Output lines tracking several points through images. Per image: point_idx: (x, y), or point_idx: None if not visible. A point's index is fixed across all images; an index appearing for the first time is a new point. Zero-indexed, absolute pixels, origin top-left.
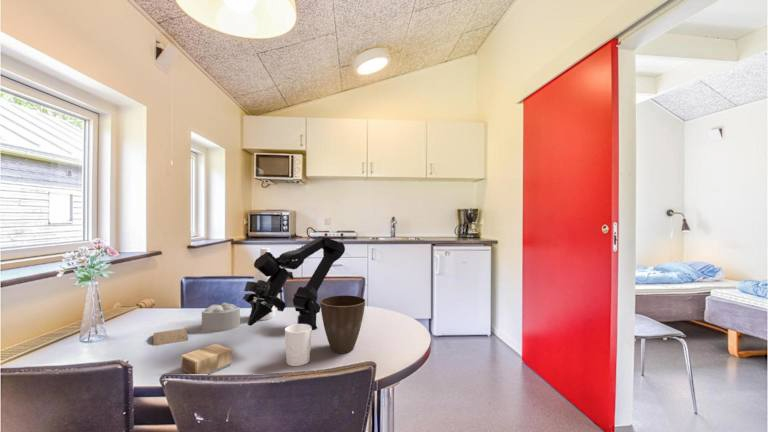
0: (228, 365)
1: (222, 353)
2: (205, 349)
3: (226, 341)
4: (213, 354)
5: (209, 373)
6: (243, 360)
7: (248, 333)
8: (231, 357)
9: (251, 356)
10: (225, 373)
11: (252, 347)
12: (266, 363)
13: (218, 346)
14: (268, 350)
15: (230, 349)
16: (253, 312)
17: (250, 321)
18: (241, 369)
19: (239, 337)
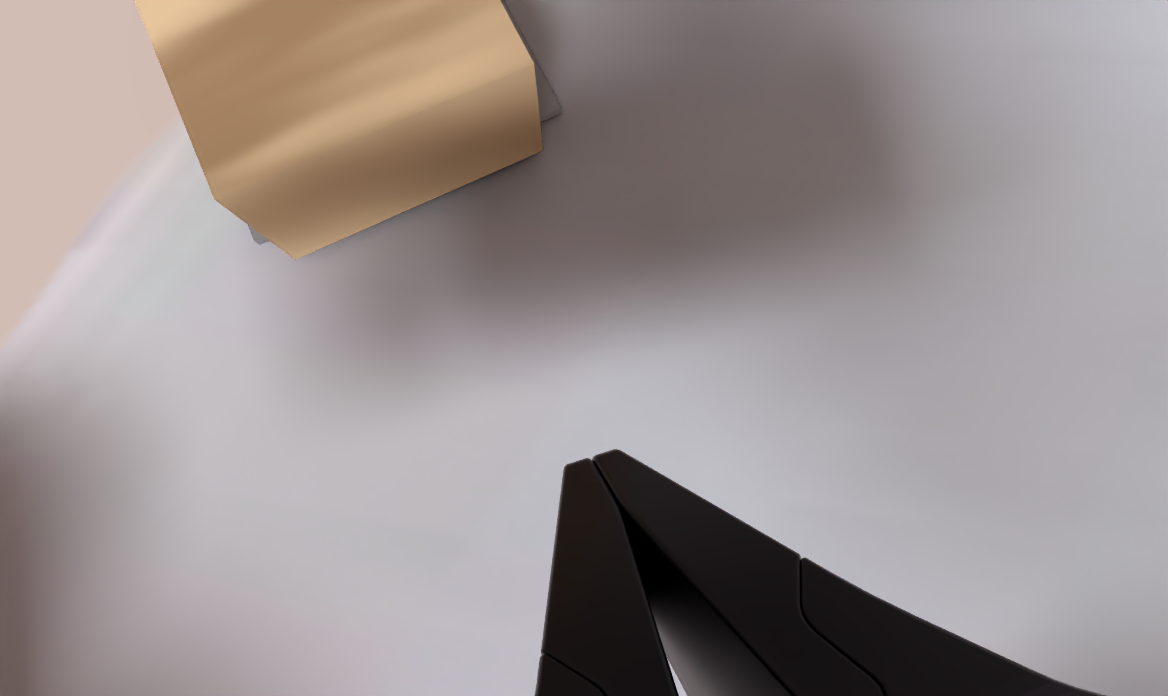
0: (253, 228)
1: (177, 102)
2: None
3: (965, 291)
4: (185, 12)
5: None
6: (317, 376)
7: (1159, 568)
8: (266, 237)
9: (371, 467)
10: (130, 195)
11: None
12: (86, 576)
13: (410, 78)
14: (431, 683)
15: (216, 185)
16: (753, 668)
17: (562, 507)
18: (117, 327)
19: (1045, 440)
